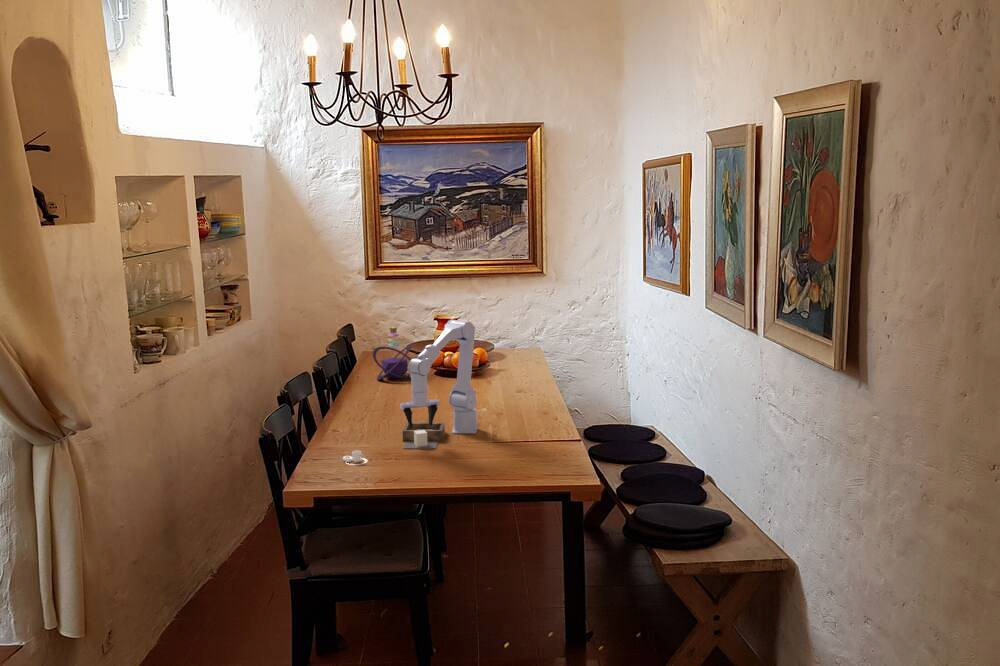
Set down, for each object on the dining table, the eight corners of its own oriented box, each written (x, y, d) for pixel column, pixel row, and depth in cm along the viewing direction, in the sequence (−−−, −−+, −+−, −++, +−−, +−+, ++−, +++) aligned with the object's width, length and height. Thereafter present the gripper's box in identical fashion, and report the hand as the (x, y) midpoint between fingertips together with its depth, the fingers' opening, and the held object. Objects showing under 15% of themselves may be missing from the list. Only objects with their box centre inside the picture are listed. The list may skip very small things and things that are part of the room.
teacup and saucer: (339, 462, 324) (338, 451, 324) (357, 457, 330) (357, 446, 329) (353, 468, 318) (353, 456, 317) (372, 462, 324) (372, 451, 323)
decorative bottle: (372, 373, 456) (370, 324, 451) (414, 371, 460) (413, 322, 455) (374, 384, 434) (372, 332, 429) (418, 381, 438) (417, 330, 433)
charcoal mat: (437, 442, 344) (437, 441, 344) (435, 449, 337) (435, 448, 337) (406, 442, 345) (406, 441, 345) (403, 449, 337) (403, 448, 337)
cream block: (424, 442, 343) (424, 429, 342) (427, 445, 340) (427, 432, 339) (414, 443, 342) (413, 430, 341) (417, 446, 338) (416, 433, 337)
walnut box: (444, 432, 357) (444, 422, 356) (442, 441, 346) (442, 430, 345) (406, 432, 357) (406, 422, 356) (402, 441, 346) (402, 431, 346)
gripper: (435, 386, 343) (436, 421, 345) (397, 390, 338) (398, 425, 341) (440, 390, 336) (441, 426, 339) (402, 394, 331) (403, 430, 334)
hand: (420, 426), depth 339 cm, fingers open, 7 cm apart
